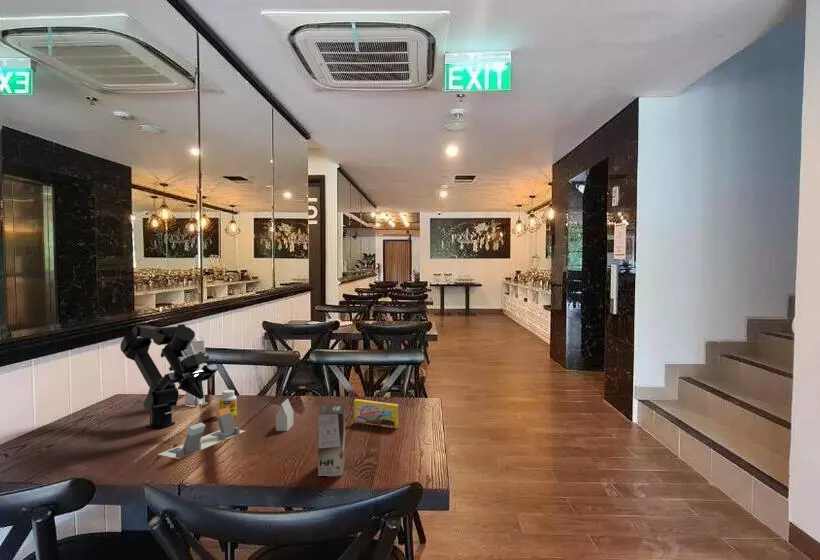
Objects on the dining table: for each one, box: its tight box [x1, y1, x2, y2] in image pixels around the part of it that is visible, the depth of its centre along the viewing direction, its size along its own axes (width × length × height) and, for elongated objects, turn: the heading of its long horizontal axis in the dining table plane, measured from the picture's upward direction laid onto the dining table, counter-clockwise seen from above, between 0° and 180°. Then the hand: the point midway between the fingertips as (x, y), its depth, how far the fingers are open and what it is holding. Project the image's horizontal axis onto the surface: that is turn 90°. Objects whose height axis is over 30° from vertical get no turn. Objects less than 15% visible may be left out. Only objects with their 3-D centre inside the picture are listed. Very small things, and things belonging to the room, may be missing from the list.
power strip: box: [158, 426, 246, 460], centre depth 138 cm, size 8×25×3 cm, turn 157°
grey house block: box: [275, 398, 295, 432], centre depth 152 cm, size 4×7×10 cm, turn 178°
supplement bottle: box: [219, 389, 238, 419], centre depth 164 cm, size 6×6×10 cm
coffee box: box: [317, 403, 346, 477], centre depth 122 cm, size 9×6×16 cm
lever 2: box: [214, 407, 235, 436], centre depth 143 cm, size 2×4×8 cm, turn 158°
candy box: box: [353, 398, 399, 427], centre depth 159 cm, size 16×2×8 cm, turn 68°
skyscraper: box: [184, 336, 209, 408], centre depth 183 cm, size 8×8×28 cm
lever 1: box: [182, 421, 207, 456], centre depth 128 cm, size 2×4×8 cm, turn 156°
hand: (202, 398), depth 146 cm, fingers closed
